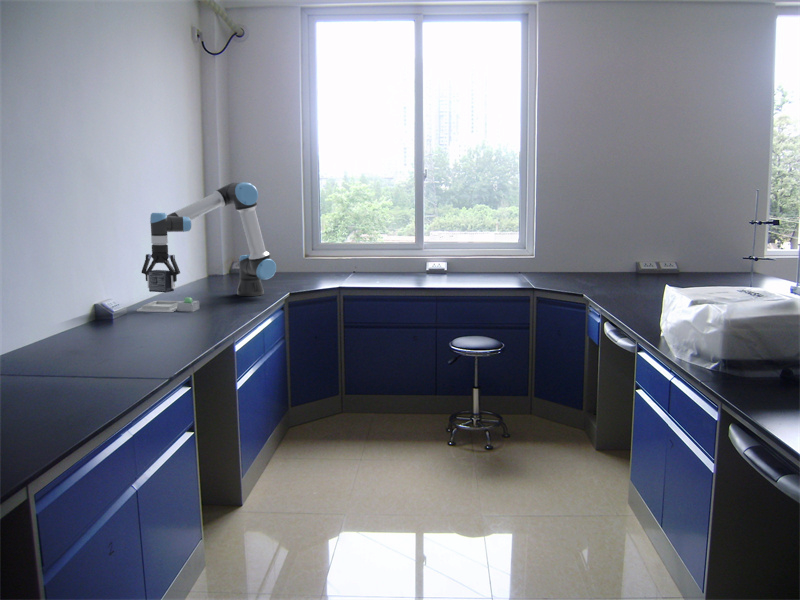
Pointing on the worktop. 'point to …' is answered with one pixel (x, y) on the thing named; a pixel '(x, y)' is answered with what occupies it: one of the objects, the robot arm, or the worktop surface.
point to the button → (188, 300)
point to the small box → (160, 281)
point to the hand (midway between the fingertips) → (161, 288)
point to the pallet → (160, 306)
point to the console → (188, 306)
